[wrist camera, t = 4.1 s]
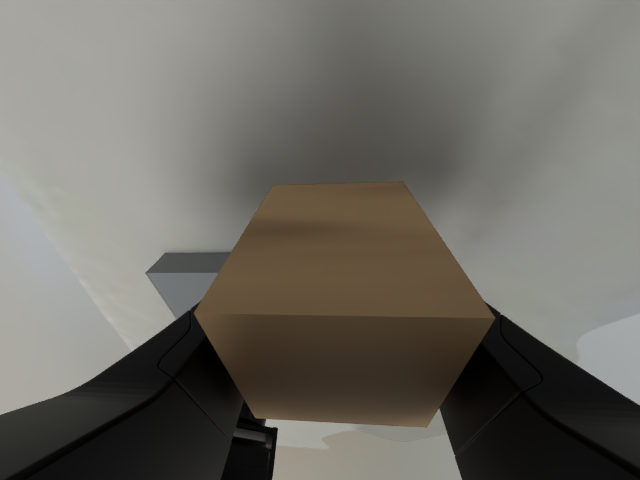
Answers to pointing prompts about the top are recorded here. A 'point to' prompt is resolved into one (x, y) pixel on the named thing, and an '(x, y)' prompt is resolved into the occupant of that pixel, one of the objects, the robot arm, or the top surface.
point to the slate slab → (185, 278)
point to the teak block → (343, 308)
